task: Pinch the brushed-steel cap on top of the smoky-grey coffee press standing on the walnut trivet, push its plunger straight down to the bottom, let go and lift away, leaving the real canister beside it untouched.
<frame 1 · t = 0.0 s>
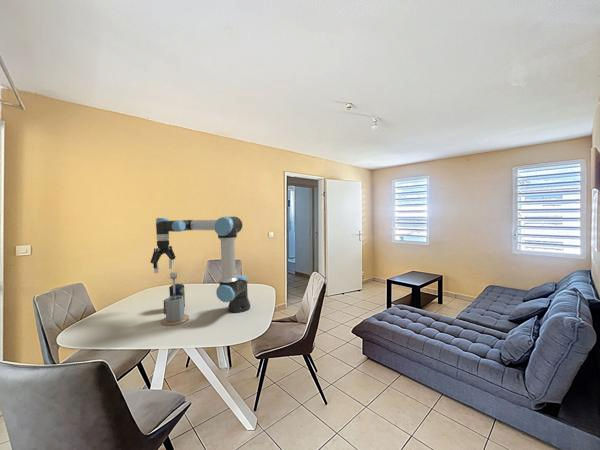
hand: (164, 270, 173), 28 cm above the table, fingers open, 13 cm apart
canister: (177, 309, 177), on the table
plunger: (174, 287, 156), point 21 cm above the table, slide at 0.0 cm
press carafe: (175, 320, 157), on the table
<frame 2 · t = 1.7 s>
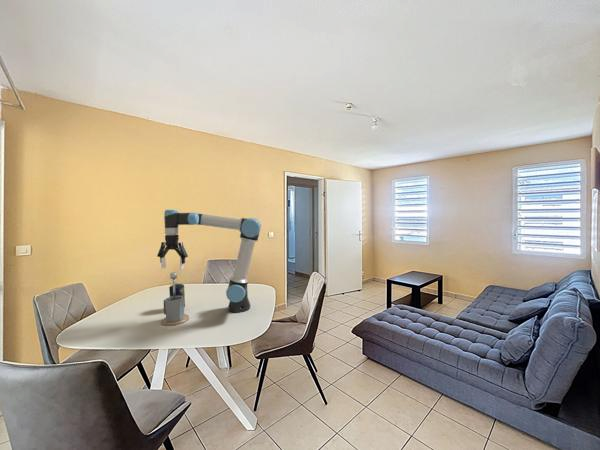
hand: (172, 268, 156), 33 cm above the table, fingers open, 13 cm apart
nothing on the table moved.
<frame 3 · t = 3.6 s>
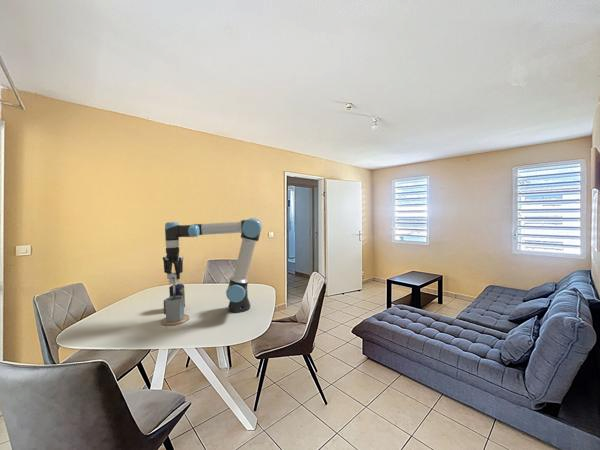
hand: (173, 284, 156), 23 cm above the table, fingers closed on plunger, 4 cm apart
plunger: (174, 287, 156), point 21 cm above the table, slide at 0.0 cm, touching gripper
everything else where it was.
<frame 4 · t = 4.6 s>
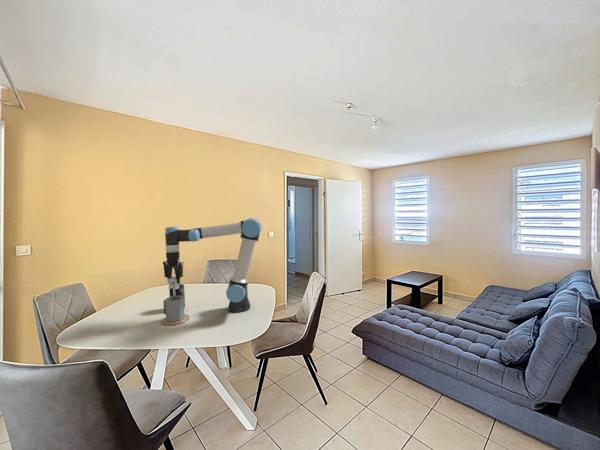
hand: (174, 288, 156), 20 cm above the table, fingers closed on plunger, 4 cm apart
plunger: (174, 291, 157), point 18 cm above the table, slide at 2.8 cm, touching gripper
everything else where it was.
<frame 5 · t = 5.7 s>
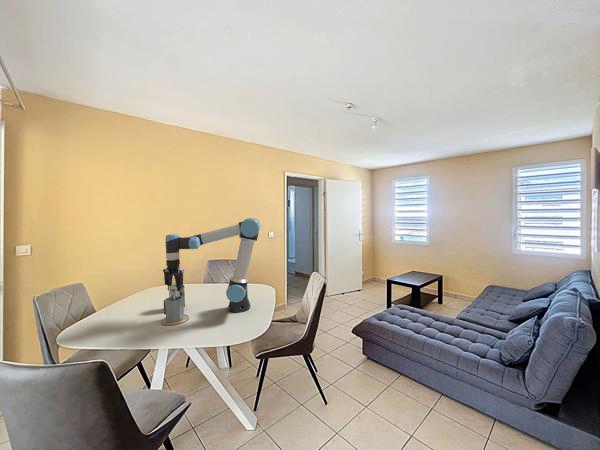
hand: (174, 296, 157), 16 cm above the table, fingers closed on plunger, 4 cm apart
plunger: (174, 299, 157), point 13 cm above the table, slide at 7.6 cm, touching gripper
everything else where it was.
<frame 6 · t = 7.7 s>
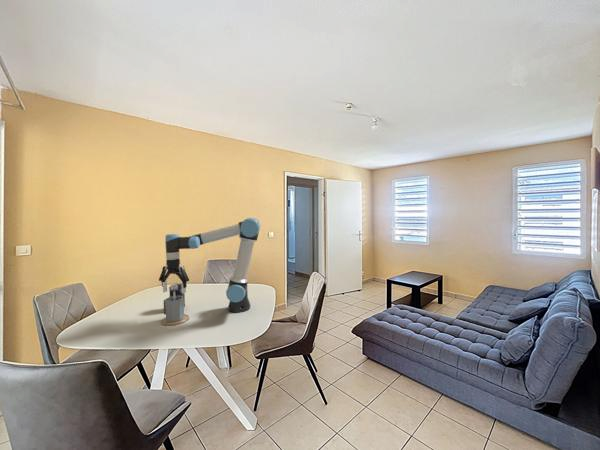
hand: (174, 292, 157), 18 cm above the table, fingers open, 13 cm apart
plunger: (174, 299, 157), point 13 cm above the table, slide at 7.6 cm
everything else where it was.
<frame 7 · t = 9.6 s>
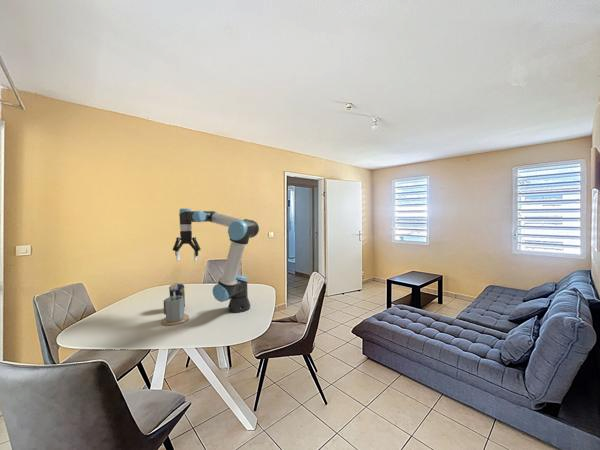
hand: (187, 260, 176), 34 cm above the table, fingers open, 13 cm apart
nothing on the table moved.
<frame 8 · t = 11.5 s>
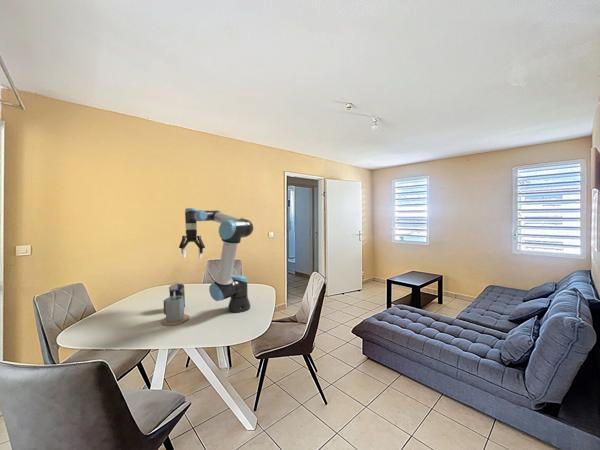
hand: (192, 257, 185), 35 cm above the table, fingers open, 13 cm apart
nothing on the table moved.
at the end: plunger slide at 7.6 cm; the gripper is holding nothing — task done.
